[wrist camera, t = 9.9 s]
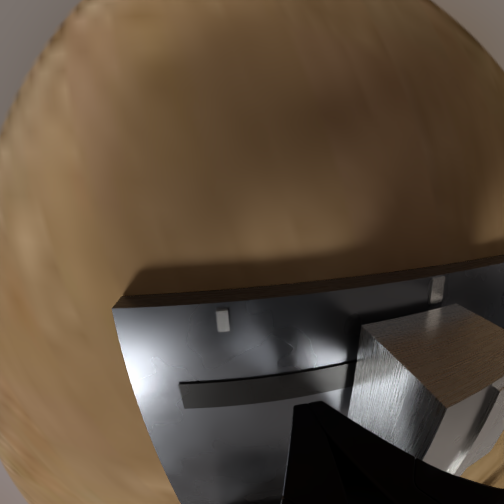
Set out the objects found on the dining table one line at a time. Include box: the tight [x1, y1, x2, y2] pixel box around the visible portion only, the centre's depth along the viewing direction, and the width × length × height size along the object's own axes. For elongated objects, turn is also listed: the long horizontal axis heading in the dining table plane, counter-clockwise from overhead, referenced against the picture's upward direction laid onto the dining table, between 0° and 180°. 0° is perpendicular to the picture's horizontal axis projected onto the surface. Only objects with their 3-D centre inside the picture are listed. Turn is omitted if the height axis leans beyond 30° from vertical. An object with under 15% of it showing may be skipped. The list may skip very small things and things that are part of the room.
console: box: [112, 255, 504, 504], centre depth 10 cm, size 19×16×1 cm
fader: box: [348, 304, 504, 476], centre depth 6 cm, size 4×4×4 cm
